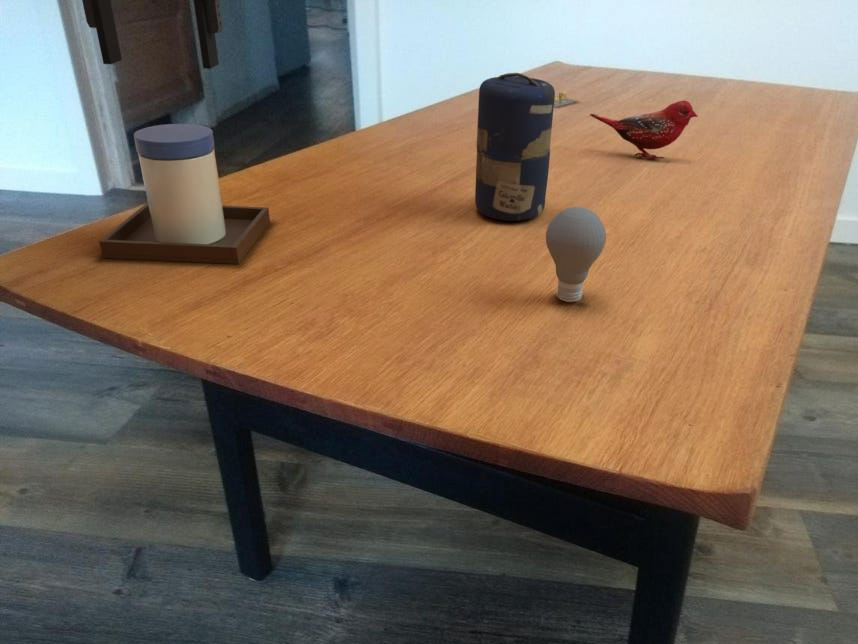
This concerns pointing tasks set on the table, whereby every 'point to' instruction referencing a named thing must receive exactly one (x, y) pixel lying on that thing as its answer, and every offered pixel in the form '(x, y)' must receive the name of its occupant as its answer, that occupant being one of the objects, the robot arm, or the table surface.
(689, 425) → the table surface
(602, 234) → the light bulb
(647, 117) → the decorative bird figurine
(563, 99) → the dice set
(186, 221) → the jar
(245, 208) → the tray
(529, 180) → the canister
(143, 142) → the jar lid
